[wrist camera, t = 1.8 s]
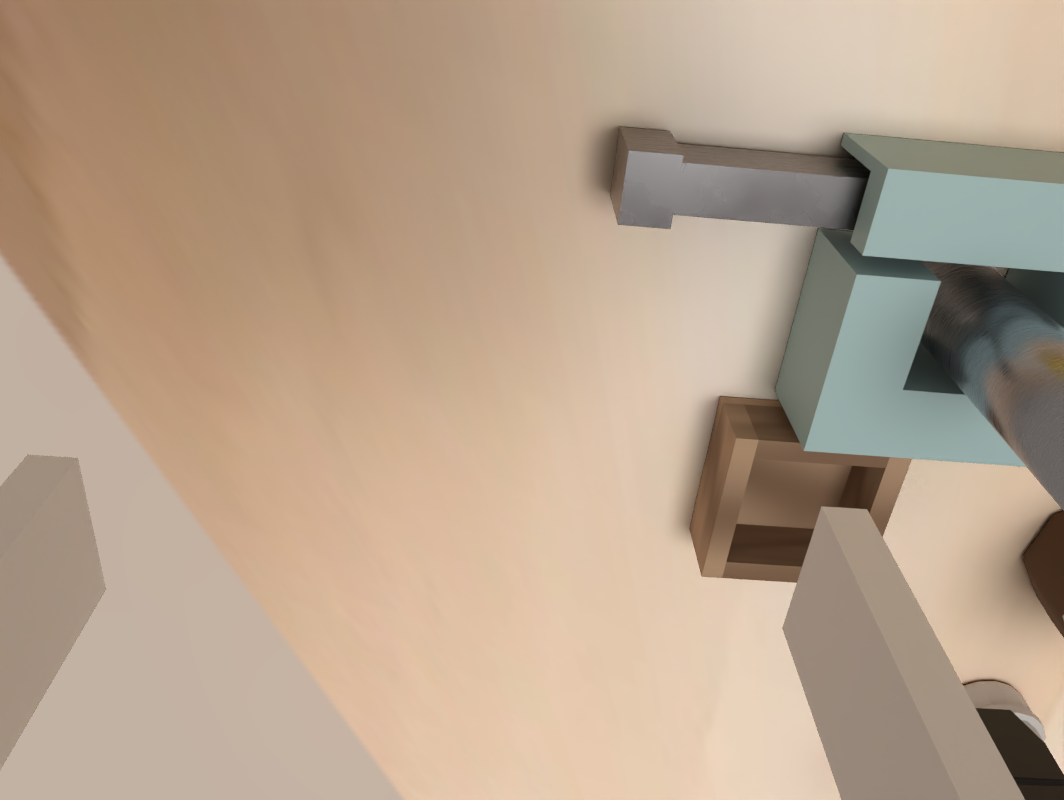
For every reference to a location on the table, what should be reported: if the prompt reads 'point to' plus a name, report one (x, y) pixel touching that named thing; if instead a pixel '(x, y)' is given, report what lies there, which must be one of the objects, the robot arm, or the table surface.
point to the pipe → (1004, 702)
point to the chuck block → (915, 295)
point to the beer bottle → (1049, 568)
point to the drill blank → (1003, 362)
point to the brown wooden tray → (776, 493)
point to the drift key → (730, 184)
